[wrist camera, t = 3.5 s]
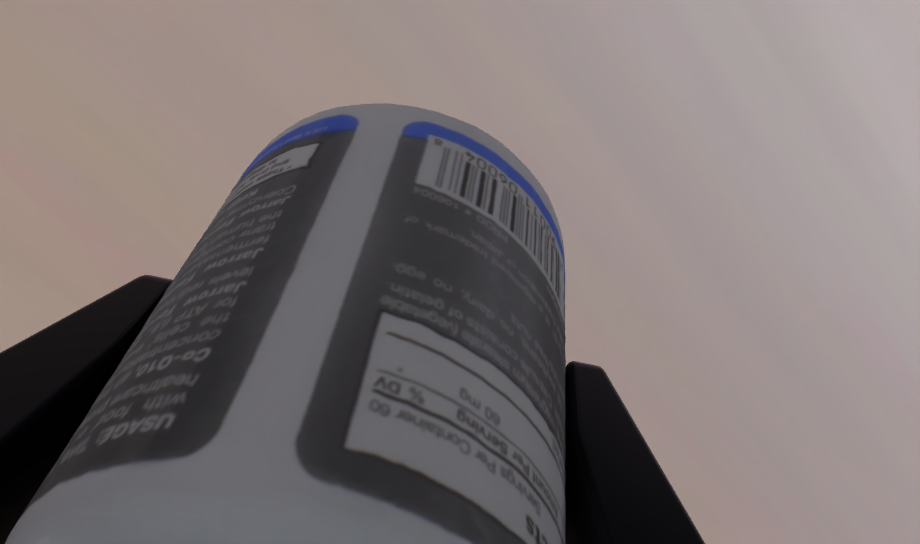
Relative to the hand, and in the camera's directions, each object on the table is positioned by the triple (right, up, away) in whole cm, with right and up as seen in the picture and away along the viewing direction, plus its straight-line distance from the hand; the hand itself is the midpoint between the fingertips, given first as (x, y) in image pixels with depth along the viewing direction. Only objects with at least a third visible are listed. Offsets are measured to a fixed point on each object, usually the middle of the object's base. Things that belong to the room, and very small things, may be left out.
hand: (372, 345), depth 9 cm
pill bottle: (0, +1, +2) cm, 2 cm away
